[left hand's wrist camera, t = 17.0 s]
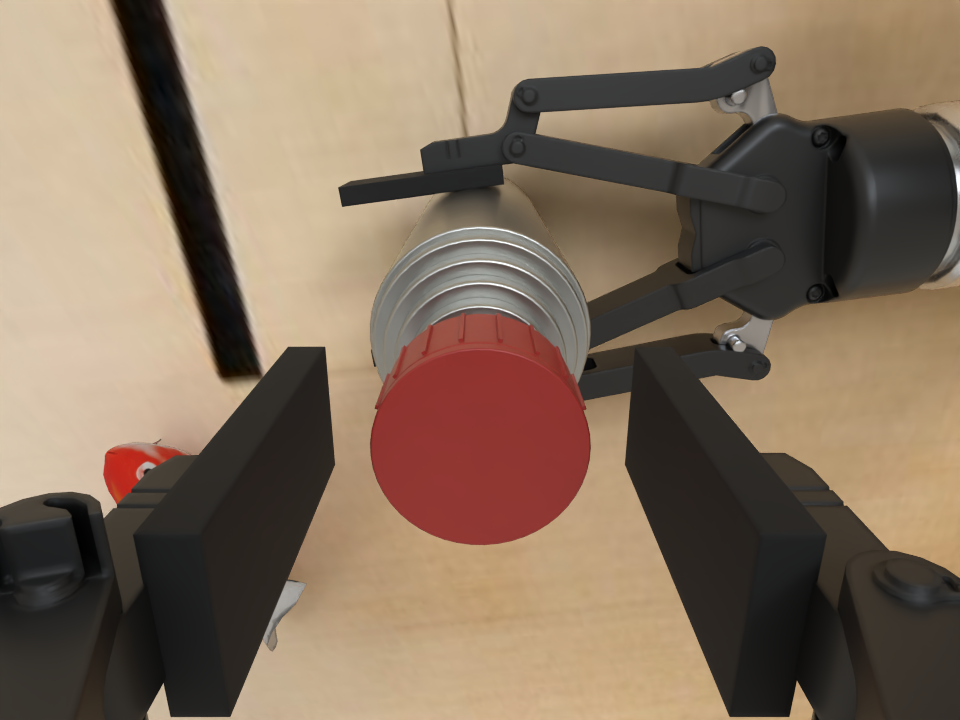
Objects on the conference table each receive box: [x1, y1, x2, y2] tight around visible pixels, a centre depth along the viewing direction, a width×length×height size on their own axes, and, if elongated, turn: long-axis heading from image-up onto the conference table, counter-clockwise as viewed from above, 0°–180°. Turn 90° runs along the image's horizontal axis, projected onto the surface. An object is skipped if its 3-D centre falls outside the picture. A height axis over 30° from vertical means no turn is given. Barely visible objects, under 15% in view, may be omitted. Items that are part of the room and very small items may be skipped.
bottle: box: [370, 177, 591, 384], centre depth 24 cm, size 6×6×24 cm
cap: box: [370, 313, 591, 545], centre depth 13 cm, size 4×4×2 cm
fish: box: [103, 439, 306, 651], centre depth 37 cm, size 11×16×10 cm
